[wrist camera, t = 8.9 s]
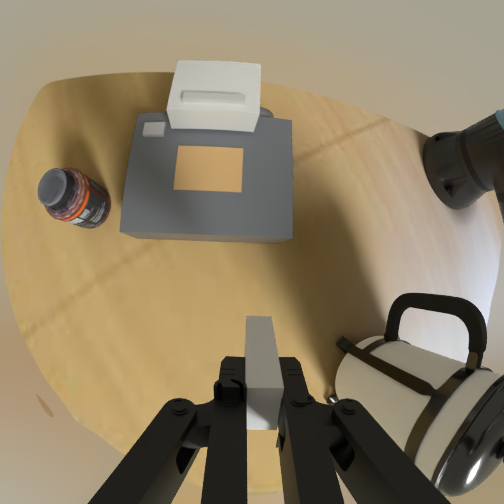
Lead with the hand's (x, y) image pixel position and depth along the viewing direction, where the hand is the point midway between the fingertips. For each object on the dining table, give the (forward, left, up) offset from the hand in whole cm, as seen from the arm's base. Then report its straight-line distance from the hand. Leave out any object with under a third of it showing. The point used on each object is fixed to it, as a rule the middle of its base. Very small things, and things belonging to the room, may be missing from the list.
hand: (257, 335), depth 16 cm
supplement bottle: (+20, -11, -18) cm, 29 cm away
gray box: (+4, -15, -18) cm, 24 cm away
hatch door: (+4, -22, -10) cm, 25 cm away
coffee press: (-19, +10, -18) cm, 28 cm away
